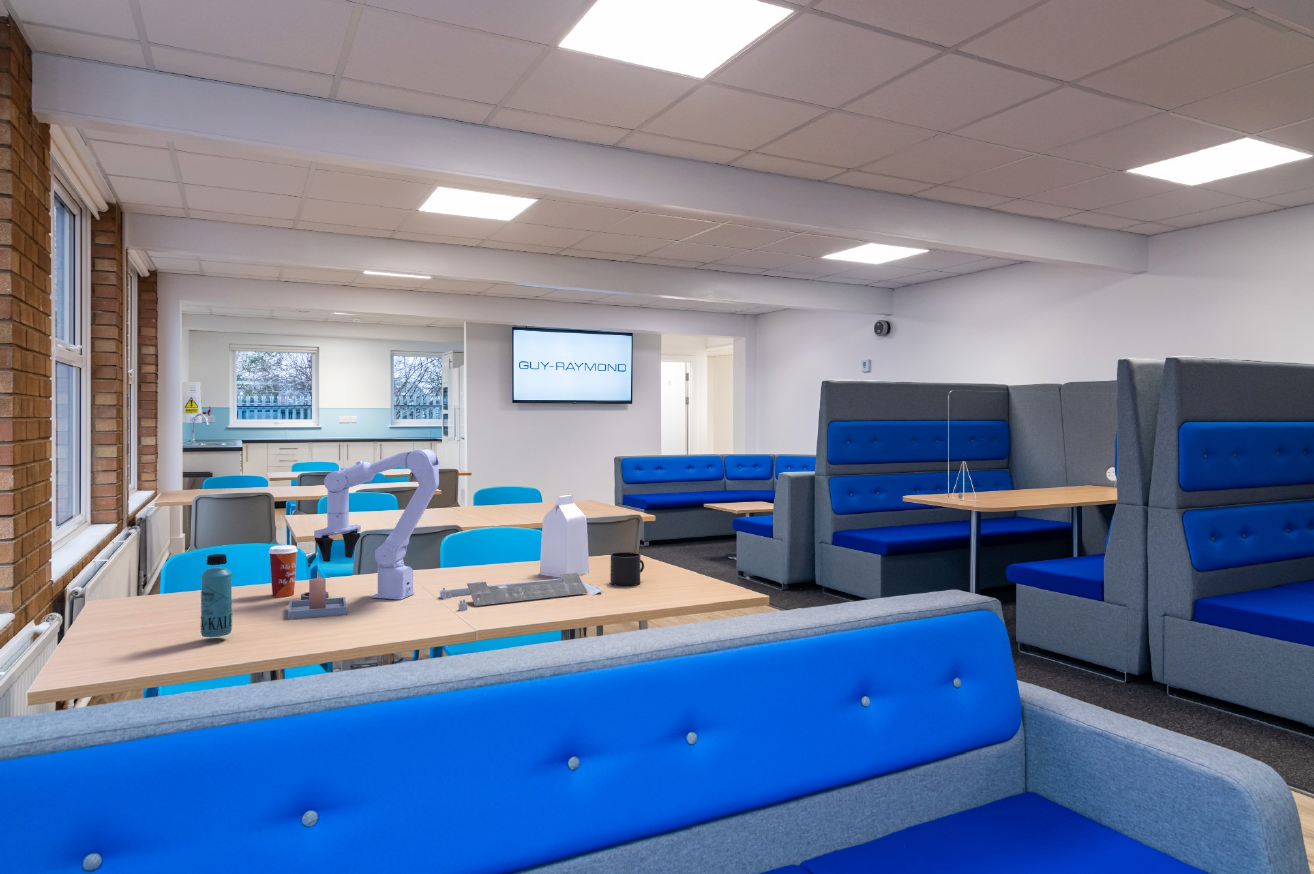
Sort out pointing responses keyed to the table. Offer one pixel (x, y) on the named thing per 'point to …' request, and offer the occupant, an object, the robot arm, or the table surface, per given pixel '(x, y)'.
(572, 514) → the milk
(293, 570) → the paper cup
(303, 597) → the sleeve
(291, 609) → the tray
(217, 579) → the beverage bottle
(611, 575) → the mug
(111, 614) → the table surface
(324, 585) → the peg
